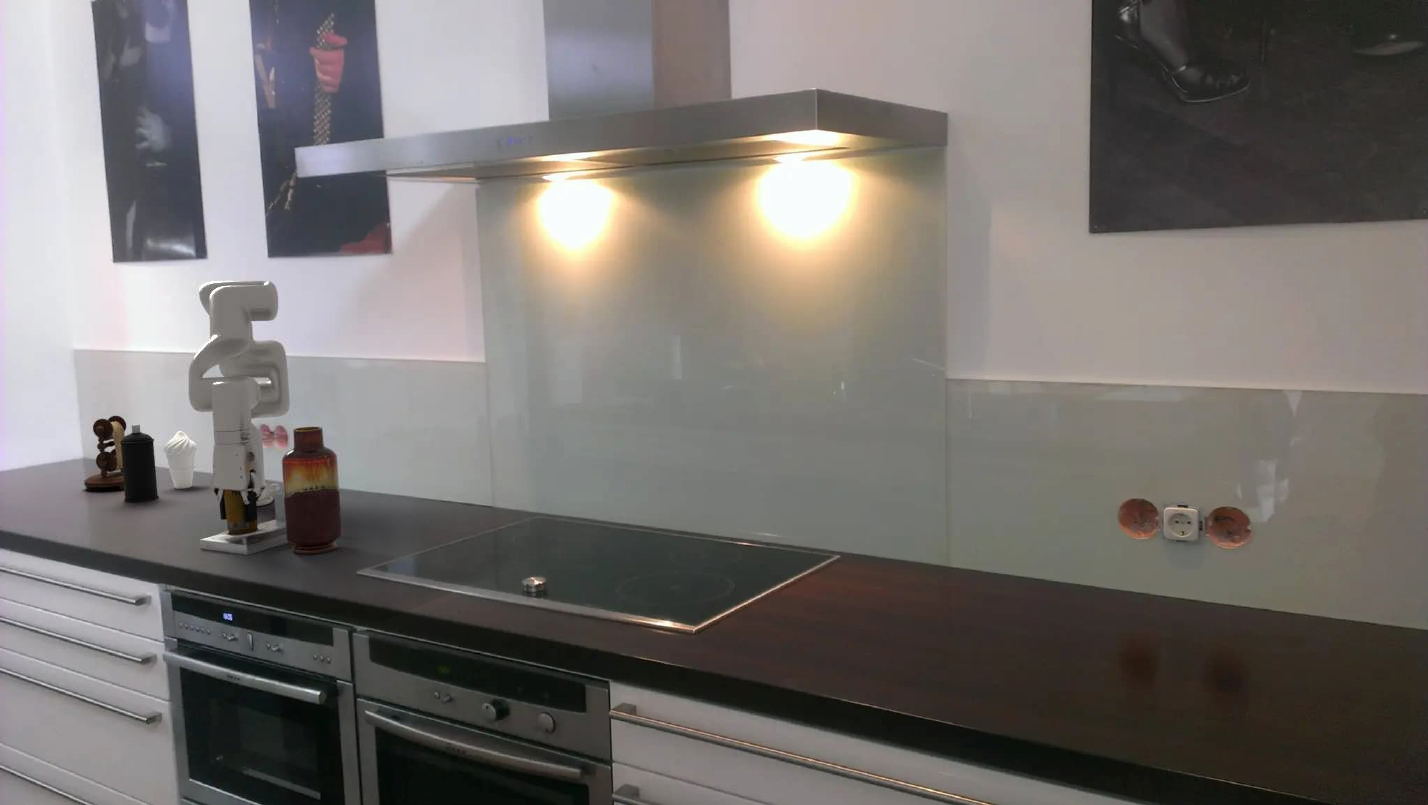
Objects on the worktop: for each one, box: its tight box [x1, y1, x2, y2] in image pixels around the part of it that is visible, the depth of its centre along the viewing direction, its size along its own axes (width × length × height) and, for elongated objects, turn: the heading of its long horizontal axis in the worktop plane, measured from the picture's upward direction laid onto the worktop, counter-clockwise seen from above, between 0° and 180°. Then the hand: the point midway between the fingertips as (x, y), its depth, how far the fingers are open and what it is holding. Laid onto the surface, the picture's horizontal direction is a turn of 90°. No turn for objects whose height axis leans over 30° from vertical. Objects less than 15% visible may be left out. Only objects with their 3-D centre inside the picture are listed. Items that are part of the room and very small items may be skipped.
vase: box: [281, 426, 342, 555], centre depth 232 cm, size 11×11×26 cm
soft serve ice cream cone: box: [163, 430, 198, 490], centre depth 305 cm, size 8×8×16 cm
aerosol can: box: [119, 423, 160, 503], centre depth 289 cm, size 8×8×20 cm
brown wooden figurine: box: [83, 415, 127, 491], centre depth 307 cm, size 15×15×20 cm
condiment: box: [219, 487, 267, 536], centre depth 236 cm, size 7×8×12 cm
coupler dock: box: [199, 492, 290, 556], centre depth 242 cm, size 22×14×8 cm, turn 155°
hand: (239, 519), depth 236 cm, fingers closed on condiment, 6 cm apart
